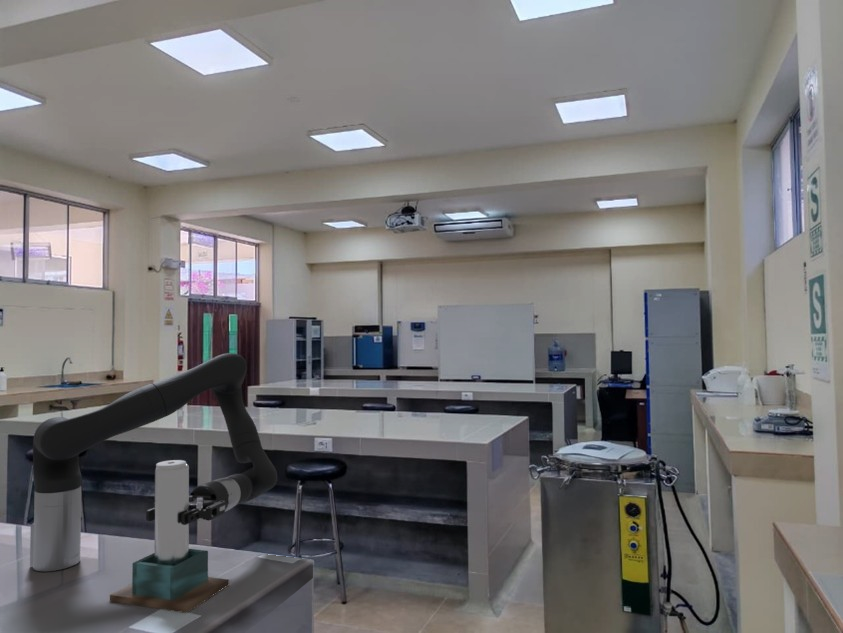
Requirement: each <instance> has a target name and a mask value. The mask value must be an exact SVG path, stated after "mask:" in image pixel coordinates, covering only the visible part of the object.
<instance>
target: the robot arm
mask: <svg viewBox="0 0 843 633" xmlns="http://www.w3.org/2000/svg"><path fill="white" fill-rule="evenodd" d="M247 366H248V364H247V361H246V359H245V358H244V357H243V356H242V355H241V354H238V353H233V352H226V353H222V354H219V355H216V356H214V357H213V358H211V359H208V360H207V361H205V362H203V363H200V364H198V365H196V366H194V367H192V368H190V369H188V370H185V371H182V372H180V373H176V374H173V375H171V376H169V377H165V378H163V379H161V380H157V381H155V382H151V383H149V384H146V385H143V386H141V387H139V388H136V389H134V390H130V391H129V392H127V393H126V394H123V395H121V396H120V397H119V398H117V399H115V400H113V401H112V402H111V403H109V404H107V405H106V406H105V405H104V406H103V407H101V408H99V409H97V410H94V411H90V412H88V413H84V414H82V415H78V416H75V417H71V418H66V417H63V416H62V417H61V416H57V417H51V418H48V419H46V420H45V421H43V422H42V423H40V424H39V425H38V427H37V428H36V430H35V432H34V434H33V440H32V475H33V476H32V478H33V482H34V483H33V484H34V501H33V503H34V509H33V510H34V511H33V512H34V513H33V515H34V516H33V523H31V525H30V538H29V539H30V543H29V545H30V546H29V547H30V548H29V549H30V550H29V567H31V568H32V570H34V571H37V572H54V571H60V570H64V569H67V568H71V567H73V566H76V565H77V564H79V563H80V562H81V543H82V542H81V539H82V538H81V534H82V532H81V531H82V479H83V478H82V477H83V476H82V473H81V470H80V469H81V468H80V462H79V459H80V458H79V456H80V454H82V453H83V452H85V451H86V450H89V449H91V448H92V447H94V446H97V445H99V444H100V443H102V442H105V441H107V440H108V439H110V438H113V437H116V436H118V435H121V434H124V433H128V432H130V431H133V430H136V429H138V428H141V427H143V426H146V425H149V424H151V423H153V422H156V421H159V420H161V419H163V418H165V417H168V416H170V415H172V414H174V413H175V412H177V411H178V410H180V409H182V408H183V407H184V406H185V405H187V404H188V403H189V402H191V401H192V400H194V398H196V397H198V396H199V395H201V394H203V393H205V392H206V391H208V390H212V392H213V395H214V396H215V399H216V401H217V403H218V405H219V408H220V410H221V412H222V415H223V418H224V421H225V424H226V427H227V428H226V429H227V431H228V436H229V438H230V444H231V446H232V447H231V448H232V450H233V454H234V458H235V460H236V461H237V462H238V463H240V464H247V463H252V465H253V466H252V467H249V469H247V470H245V471H244V472H242V473H234V474H231V475H228V476H226V477H221V478H217V479H214V480H211V481H209V482H205V483H202V484H200V485H198V486H196V487H195V488H193V490H192V491H191V492H190V493H189V511H188V512H185V513H183V514H182V516H181V524H182V525H187V524H189V525H190V524H191V523H194V522H196V521H199V522H200V521H203V520H204V521H209V522H210V521H211V520H214V519H216V518H218V517H219V516H222V515H223V514H225V513H226V512H227V511H229V510H231V509H233V508H234V507H236V506H239V505H241V504H243V503H247V502H249V501H251V500H254V499H256V498H258V497H260V496H261V495H262V494H264V493H266V492H268V491H270V490H271V489H273V488H274V487H275V486H276V484H277V482H278V473H277V472H278V471H277V469H276V467H275V465H274V464H273V463H272V461H271V460H270V458H269V457H268V455H267V453H266V452H265V449H264V448H263V446H262V443H261V438H260V435H259V432H258V429H257V425H256V424H255V422H254V420H253V418H252V417H251V415H250V414H249V412H248V410H247V408H246V406H245V402H244V400H243V399H244V398H243V391H242V385H243V383H244V380H245V377H246V375H247V369H248V367H247ZM145 516H146V518H145V520H146V521H147V522H152V521H155V502H153V508H152V507H151V508H149V509H147V511H146V515H145Z"/></svg>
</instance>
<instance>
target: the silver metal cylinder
mask: <svg viewBox="0 0 843 633" xmlns="http://www.w3.org/2000/svg"><path fill="white" fill-rule="evenodd" d="M155 466H156V467H155V469H154V503H155V520H154V553H155V564H161V565H169V566H175V565H177V564H179V563H181V562H183V561H185V560H187V559H189V549H190V547H189V546H190V542H189V540H190V537H189V536H190V534H189V533H190V532H189V531H190V526H189V525H190V523H189V524H187V525H182V524H181V516H182V514H183V513H185V512H188V511H189V496H190V492H189V491H190V466H189V464H188V463H187V461H186V460H183V459H173V460H171V459H169V460H163V461H159V462H157V463H156V464H155Z"/></svg>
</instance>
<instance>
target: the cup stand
mask: <svg viewBox="0 0 843 633" xmlns="http://www.w3.org/2000/svg"><path fill="white" fill-rule="evenodd" d="M131 572H132V577H131V578H132V580H131V581H132V582H131V583H130V584H128V585H126V586H124V587H123V588H120V589H119V590H116V591H114V592H113V593H110V594H109V602H113V603H121V604H125V605H132V606H141V607H146V608H151V609H152V608H153V609H159V610H165V609H166V611H171V610H174V612H178V611H182V612H181V613H184V612H187V613H188V611H189V610H190V611H192V610H193V609H195V608H197V607H198V606H200V605H201V604H202V602H203V601H204V600H206V599H207V598H209V597H210V596H212V595H213V594H215V593H216V594H218V593H219V592H220V591H219V590H221V589H222V588H224V587H225V586H227V585H228V584H229V583H230V579H227V578H221V577H220V578H219V577H212V576H209V550H204V549H203V550H202V549H195V548H189V559H187V560H185V561H183V562H181V563H179V564H177V565H175V566H169V565H161V564H155V552H153V553H152V554H149V555H146V556H144V557H142V558H140V559H138V560H136V561H134V562H132V571H131ZM229 585H230V584H229ZM227 587H228V586H227ZM224 589H225V588H224ZM222 590H223V589H222ZM222 590H221V591H222ZM218 591H219V592H218ZM217 592H218V593H217ZM216 594H215V595H216ZM213 596H214V595H213ZM213 596H212V597H213ZM210 598H211V597H210ZM210 598H209V599H210ZM207 600H208V599H207ZM207 600H206V601H207ZM204 602H205V601H204ZM204 602H203V603H204ZM200 603H201V604H200ZM197 605H198V606H197ZM194 607H195V608H194ZM191 609H192V610H191ZM190 611H189V612H190Z"/></svg>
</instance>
